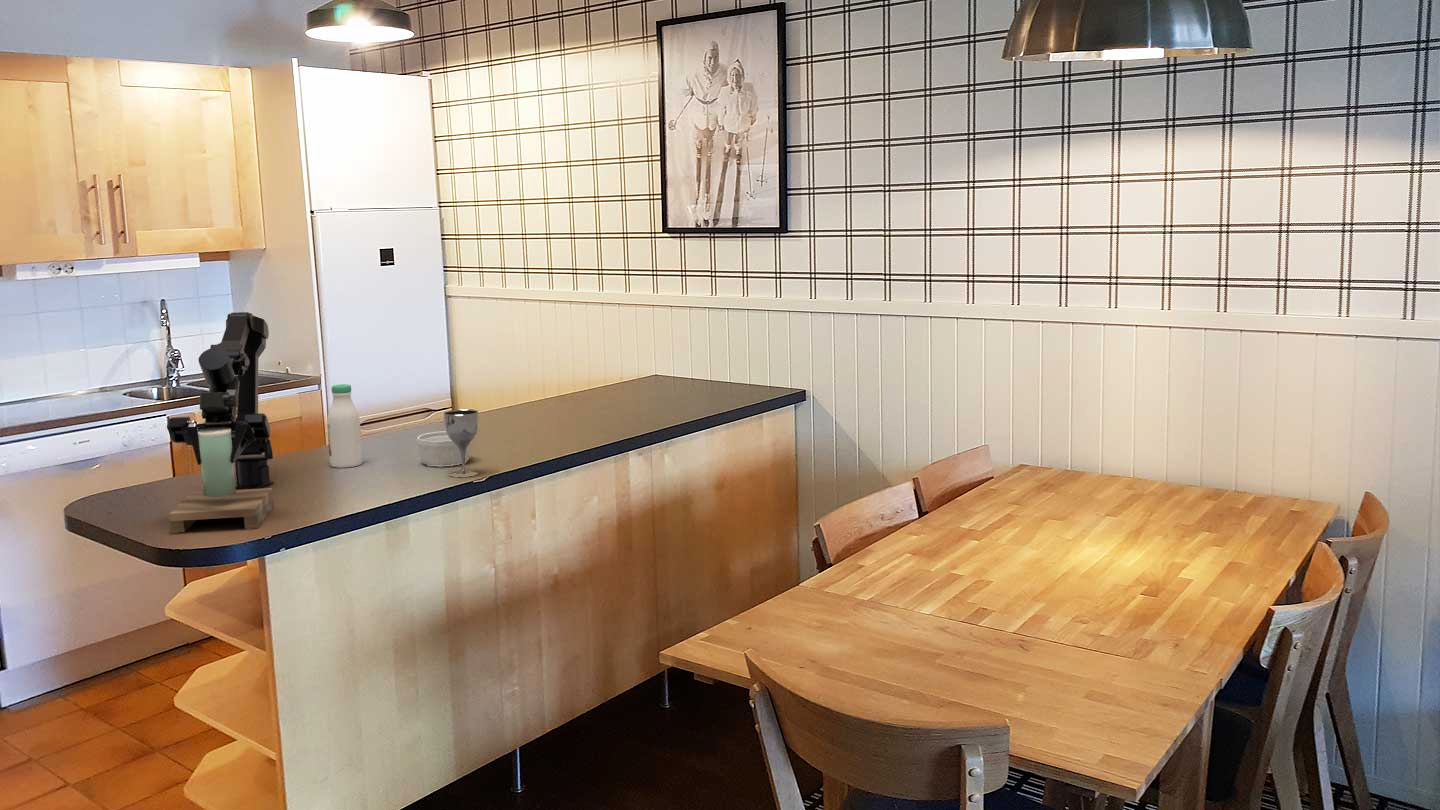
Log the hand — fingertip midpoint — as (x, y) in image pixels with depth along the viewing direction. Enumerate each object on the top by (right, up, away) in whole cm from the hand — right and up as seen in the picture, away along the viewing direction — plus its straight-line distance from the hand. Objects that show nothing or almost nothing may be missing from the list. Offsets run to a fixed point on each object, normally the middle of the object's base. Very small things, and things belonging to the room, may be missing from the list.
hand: (215, 462), depth 232 cm
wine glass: (+40, -5, +44) cm, 60 cm away
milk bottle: (+8, -4, +56) cm, 57 cm away
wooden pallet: (0, -12, +5) cm, 13 cm away
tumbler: (0, -6, +2) cm, 7 cm away
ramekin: (+32, -3, +58) cm, 66 cm away
